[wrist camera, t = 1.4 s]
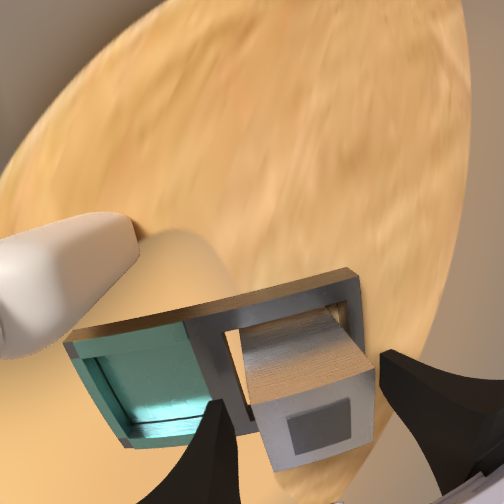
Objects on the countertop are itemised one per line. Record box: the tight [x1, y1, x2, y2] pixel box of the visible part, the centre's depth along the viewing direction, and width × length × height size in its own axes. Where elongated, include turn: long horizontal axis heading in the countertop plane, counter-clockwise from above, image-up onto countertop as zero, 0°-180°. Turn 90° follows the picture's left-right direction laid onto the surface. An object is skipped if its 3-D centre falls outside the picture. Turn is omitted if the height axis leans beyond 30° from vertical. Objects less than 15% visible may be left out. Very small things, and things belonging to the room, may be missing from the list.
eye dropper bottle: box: [0, 212, 139, 360], centre depth 8 cm, size 4×6×12 cm
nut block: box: [239, 306, 375, 472], centre depth 13 cm, size 4×4×6 cm
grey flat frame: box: [63, 267, 365, 449], centre depth 15 cm, size 8×15×2 cm, turn 103°
